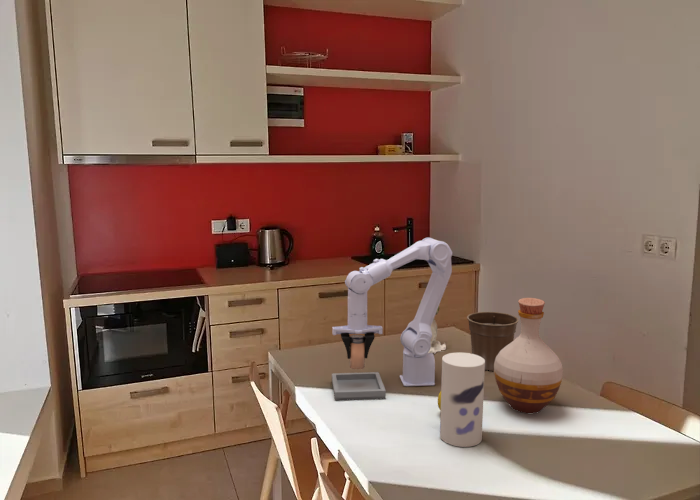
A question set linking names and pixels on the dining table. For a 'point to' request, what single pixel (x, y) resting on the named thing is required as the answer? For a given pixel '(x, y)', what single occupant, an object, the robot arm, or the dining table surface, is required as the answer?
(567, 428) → the dining table surface
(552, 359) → the jug
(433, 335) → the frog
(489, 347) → the plant pot
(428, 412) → the dining table surface
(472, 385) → the container
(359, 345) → the shaker
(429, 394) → the dining table surface
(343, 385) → the tray
